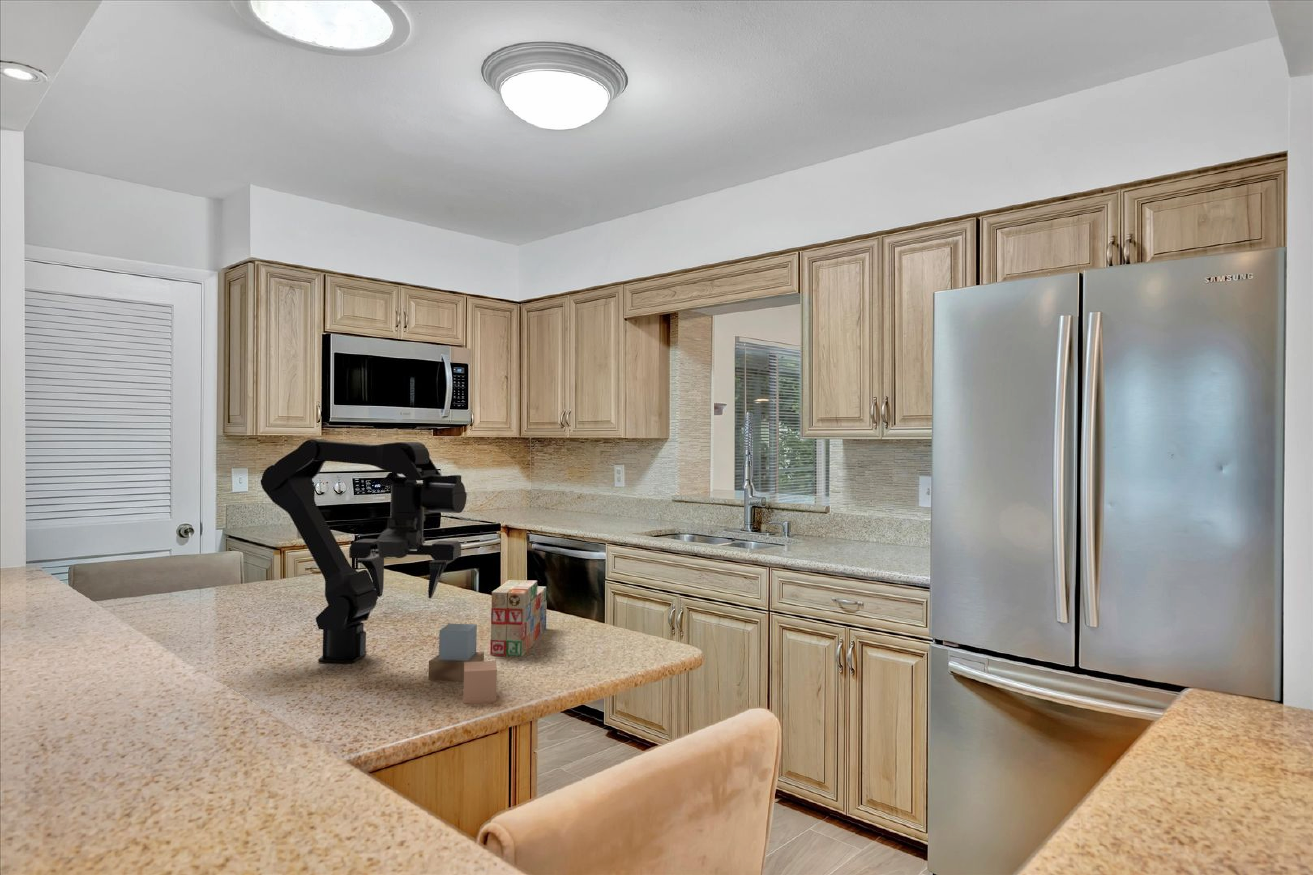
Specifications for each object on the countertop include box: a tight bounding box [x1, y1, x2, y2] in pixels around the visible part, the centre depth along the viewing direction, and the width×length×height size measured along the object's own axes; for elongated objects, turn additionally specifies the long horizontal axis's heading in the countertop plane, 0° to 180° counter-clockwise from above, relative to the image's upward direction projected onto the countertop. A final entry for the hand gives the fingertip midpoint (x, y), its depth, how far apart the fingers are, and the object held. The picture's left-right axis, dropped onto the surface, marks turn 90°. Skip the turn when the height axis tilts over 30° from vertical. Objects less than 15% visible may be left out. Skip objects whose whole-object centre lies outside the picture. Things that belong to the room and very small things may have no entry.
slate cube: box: [438, 622, 478, 661], centre depth 131 cm, size 5×5×5 cm
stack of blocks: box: [489, 579, 548, 657], centre depth 153 cm, size 21×6×12 cm, turn 176°
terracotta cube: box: [462, 660, 498, 704], centre depth 120 cm, size 5×5×5 cm
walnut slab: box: [428, 651, 485, 684], centre depth 130 cm, size 7×7×4 cm
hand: (405, 597), depth 136 cm, fingers open, 9 cm apart
